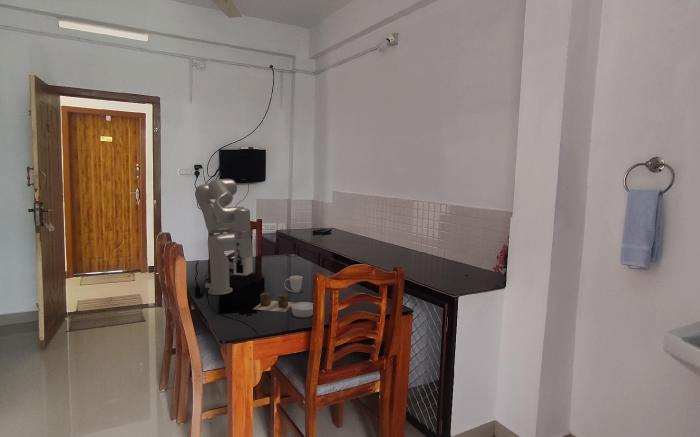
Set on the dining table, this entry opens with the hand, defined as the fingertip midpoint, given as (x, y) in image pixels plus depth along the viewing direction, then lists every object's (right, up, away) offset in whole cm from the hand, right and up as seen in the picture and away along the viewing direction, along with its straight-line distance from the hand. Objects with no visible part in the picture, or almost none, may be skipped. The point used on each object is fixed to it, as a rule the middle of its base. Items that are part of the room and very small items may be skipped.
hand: (243, 270), depth 207 cm
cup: (+21, -15, +27) cm, 37 cm away
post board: (+15, -18, -1) cm, 24 cm away
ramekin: (+30, -20, -12) cm, 38 cm away
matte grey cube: (0, -1, 0) cm, 1 cm away
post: (+20, -17, -2) cm, 26 cm away
